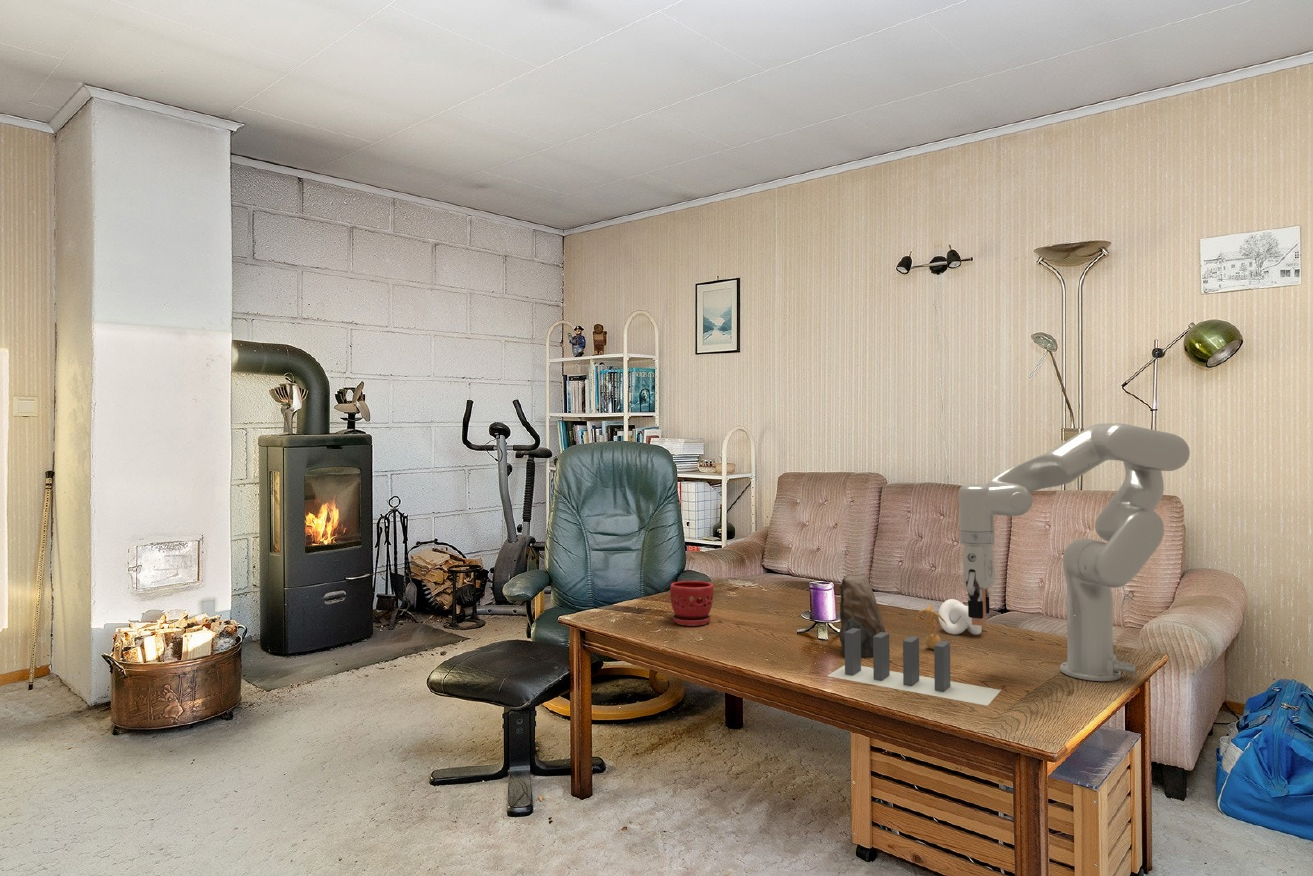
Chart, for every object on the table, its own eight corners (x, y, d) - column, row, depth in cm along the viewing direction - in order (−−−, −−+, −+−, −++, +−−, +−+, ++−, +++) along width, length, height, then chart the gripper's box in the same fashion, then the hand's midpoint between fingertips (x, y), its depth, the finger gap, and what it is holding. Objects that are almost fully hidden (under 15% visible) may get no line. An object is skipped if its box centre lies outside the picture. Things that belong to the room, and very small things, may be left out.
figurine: (951, 650, 211) (951, 604, 210) (942, 655, 206) (942, 608, 206) (921, 644, 216) (921, 600, 216) (911, 649, 212) (911, 604, 212)
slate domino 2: (889, 675, 189) (889, 633, 189) (881, 681, 185) (881, 637, 185) (881, 674, 190) (880, 631, 190) (873, 679, 186) (873, 636, 186)
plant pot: (715, 627, 237) (714, 587, 237) (670, 628, 237) (670, 588, 237) (712, 617, 250) (712, 579, 250) (670, 617, 250) (670, 579, 250)
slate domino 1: (861, 670, 193) (860, 629, 193) (853, 675, 189) (852, 633, 189) (853, 669, 194) (852, 627, 194) (844, 674, 190) (844, 632, 190)
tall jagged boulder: (843, 660, 202) (842, 581, 202) (827, 647, 215) (826, 572, 215) (891, 658, 204) (890, 580, 203) (873, 645, 216) (872, 571, 216)
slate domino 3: (919, 680, 185) (919, 637, 184) (912, 686, 181) (911, 642, 180) (910, 679, 186) (910, 636, 186) (903, 685, 182) (902, 641, 182)
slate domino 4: (950, 686, 180) (950, 641, 180) (943, 692, 176) (943, 647, 176) (941, 684, 182) (941, 640, 182) (934, 690, 178) (934, 645, 177)
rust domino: (986, 621, 189) (985, 578, 189) (980, 625, 185) (979, 582, 185) (977, 620, 190) (976, 578, 190) (971, 624, 186) (970, 581, 186)
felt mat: (1001, 691, 177) (1001, 690, 177) (987, 707, 168) (987, 705, 168) (847, 665, 199) (847, 663, 199) (826, 677, 189) (826, 676, 189)
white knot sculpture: (939, 636, 224) (939, 604, 224) (937, 626, 236) (937, 596, 236) (982, 639, 221) (982, 606, 221) (979, 628, 232) (978, 597, 232)
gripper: (984, 543, 178) (986, 625, 179) (1002, 534, 192) (1004, 609, 192) (950, 541, 183) (952, 621, 183) (970, 532, 197) (972, 606, 197)
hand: (979, 614), depth 188 cm, fingers closed on rust domino, 4 cm apart
